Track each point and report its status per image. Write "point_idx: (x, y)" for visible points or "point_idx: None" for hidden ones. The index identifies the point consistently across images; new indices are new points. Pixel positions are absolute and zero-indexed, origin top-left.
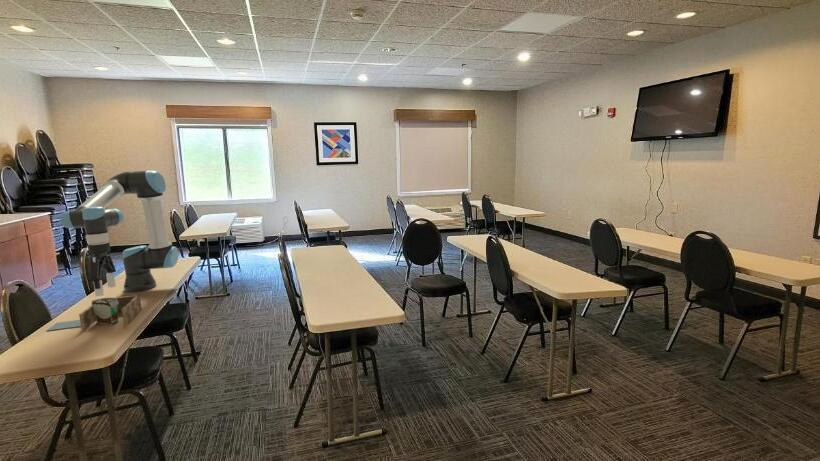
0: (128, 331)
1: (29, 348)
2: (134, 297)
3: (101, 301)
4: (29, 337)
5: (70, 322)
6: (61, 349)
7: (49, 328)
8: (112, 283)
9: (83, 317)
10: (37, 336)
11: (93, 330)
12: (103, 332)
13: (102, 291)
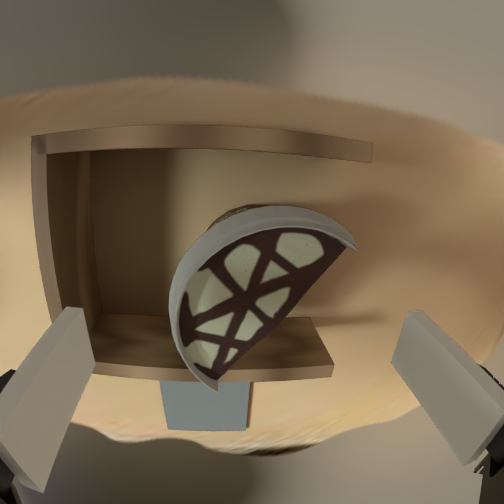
0: (422, 128)
1: (385, 399)
2: (79, 147)
3: (216, 337)
4: (282, 441)
5: (183, 397)
6: (453, 312)
7: (227, 430)
8: (71, 351)
9: (323, 352)
10: (285, 429)
11: (333, 281)
12: (384, 229)
13: (444, 332)
